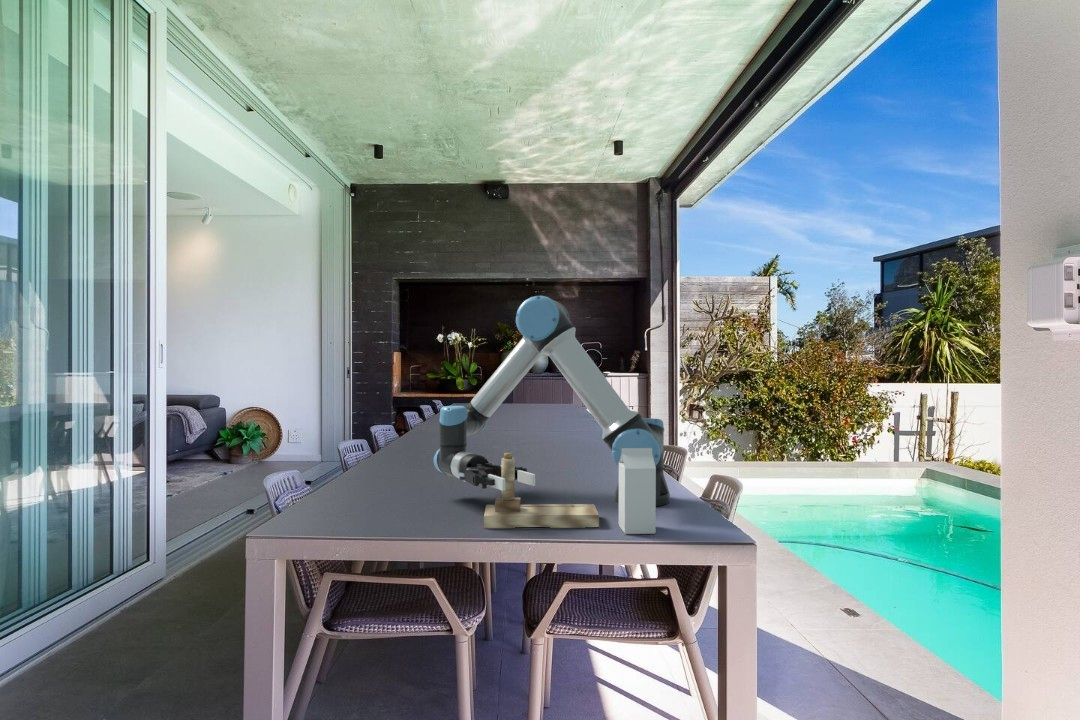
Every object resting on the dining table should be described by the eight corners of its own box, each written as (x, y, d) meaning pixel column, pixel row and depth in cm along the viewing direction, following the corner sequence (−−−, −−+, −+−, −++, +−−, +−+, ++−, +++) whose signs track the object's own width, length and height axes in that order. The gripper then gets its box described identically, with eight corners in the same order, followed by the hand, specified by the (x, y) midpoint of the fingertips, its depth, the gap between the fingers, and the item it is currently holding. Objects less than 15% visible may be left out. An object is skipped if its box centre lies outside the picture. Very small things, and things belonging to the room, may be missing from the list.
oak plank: (593, 516, 149) (593, 503, 149) (598, 527, 139) (599, 514, 139) (486, 516, 148) (486, 504, 148) (483, 528, 138) (483, 515, 138)
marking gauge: (520, 507, 145) (520, 452, 145) (520, 511, 141) (520, 454, 141) (495, 507, 145) (496, 452, 145) (495, 512, 141) (495, 454, 141)
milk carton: (655, 534, 134) (656, 450, 134) (624, 535, 133) (625, 450, 133) (647, 525, 141) (648, 445, 141) (618, 525, 140) (618, 446, 140)
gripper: (503, 476, 164) (553, 492, 146) (435, 486, 151) (481, 504, 133) (503, 449, 164) (554, 461, 145) (435, 457, 151) (481, 471, 133)
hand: (519, 482), depth 139 cm, fingers open, 8 cm apart
